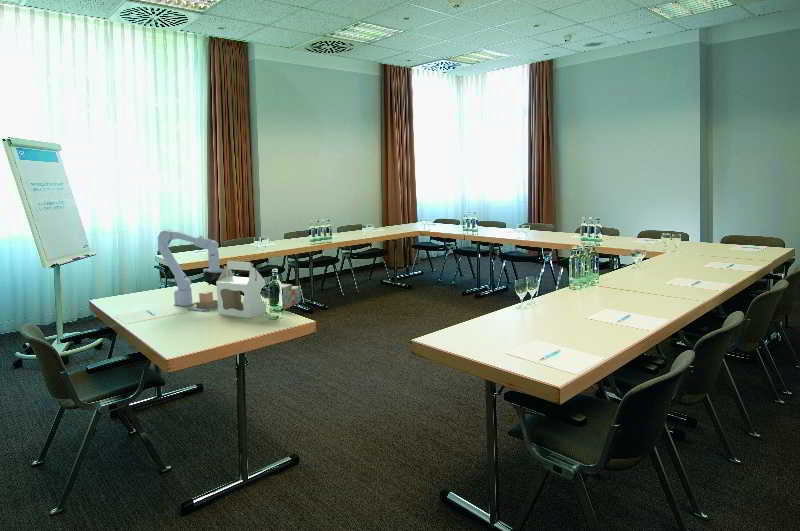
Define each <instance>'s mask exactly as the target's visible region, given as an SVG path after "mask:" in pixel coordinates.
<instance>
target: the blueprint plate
mask: <svg viewBox="0 0 800 531" xmlns="http://www.w3.org/2000/svg"><path fill="white" fill-rule="evenodd" d="M214 309H218V299H213V301H210V302H207V303H206V302H200V300H199V301H196V303H195V306H193V307H190V308H188V311H193V312H202V313H203V312H204V313H205V312H209V311H212V310H214Z"/></svg>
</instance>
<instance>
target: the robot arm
mask: <svg viewBox="0 0 800 531" xmlns="http://www.w3.org/2000/svg"><path fill="white" fill-rule="evenodd" d="M178 239H180V240H182V241H185V242H189V243H192V244H193V245H194V247H198V248H200V249H201V248H202V249H205V250H206V249H207V251H208V252H207V256H208V257H207V258H208V259H207V260H208V268H203V269H202V271H203V275H204V277H205V279H206V281H207V284H208V286H212V285H213V273H215V274H216V275H217V277H218V278H219V276H220V274H221V273H222V271H223V269H224V268H221V267H220V256H219V255H220V254H219V243H218V241H216V240H214V239H211V238H205V237H203V235H197V236H192V235H190V234H186V233H184V232H181V231H178V230H174V229H173V230H172V229H169V228H167V229H164V230H162V231H160V232H159V233H158V236H157V250H158V252H160V256H162V258H163V259H164V261H165V263H166V265H167V267H168V268H169V270H170V271H171V273H172V274H173V276H174V280H175V282H176V286H177V289H175V291H174V292H173V296H174V303H173V305H174V306H181V307H188V306H191V305H194V304H195V305H196V302H197V301H196V302H195V301H193V293H192V292H193V291H192V287H191V285H192V279H191V278H190V277H189V276H187V275H186V273H185V272H184V271H183V269H182V268H181V267H180V265H179V263H178V261H177V259H176V258H175V256H174V255H173V252H171V250H170V248H169V246H170V244H171V242H172V240H178ZM218 278H217V279H218Z"/></svg>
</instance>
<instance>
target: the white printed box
mask: <svg viewBox="0 0 800 531" xmlns="http://www.w3.org/2000/svg"><path fill="white" fill-rule="evenodd" d="M281 284H282V289H283V309H284V310H287V309H289V308H290V307H293V306H295V305H297V304H299V303H301V302H302V297H301V295H302V294H301V286H299V285H297V286H296V285H295V286H294V285H293V284H292V283H290V284H289V283H281Z"/></svg>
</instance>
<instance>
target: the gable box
mask: <svg viewBox="0 0 800 531" xmlns="http://www.w3.org/2000/svg"><path fill="white" fill-rule="evenodd" d="M226 264H227V265H224V266H223V268H222V269H223V271H222V273H221V274H220V276H219V278H217V279H216V293H217V294H216V295H217V296H216V297H217V298H216V299H217V300H218V308H217V309H218V315H220V316H229V317H239V318H246V319H251V318H255V317H257V316H260V315H263V314H266V313H265V312H266V305H267V303H266V304H265V303H264V301H262V299H261V296H260V292H261V289H262V288H263V287H264V286H265V287H266V280H265V279H264V278H263V276H262V275H261V274H260V273H259V271H258V270H257V268H255V267H254V263H252V262H251V261H240V260H227V263H226ZM232 270H234V271H236V270H238V271H249V273H248V277H243V276H234V274H233V271H232ZM241 292H242V293H243V294H244V295H243V300H242V295H241Z"/></svg>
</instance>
